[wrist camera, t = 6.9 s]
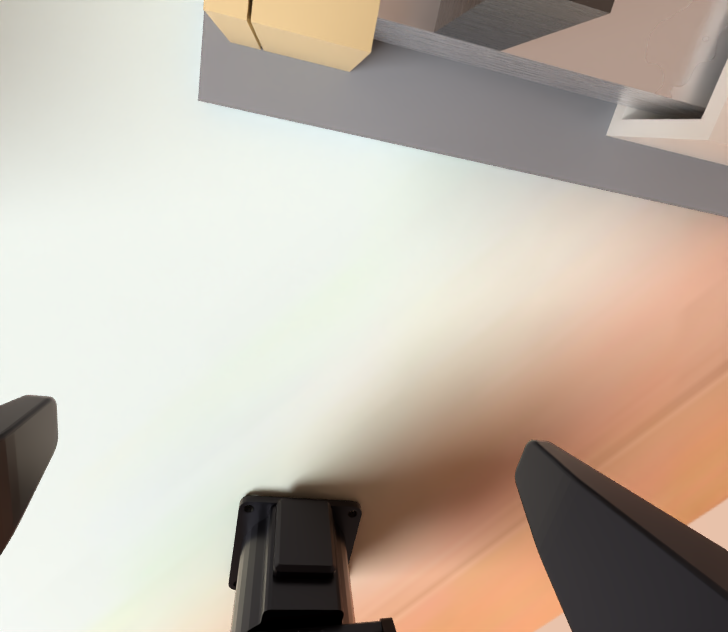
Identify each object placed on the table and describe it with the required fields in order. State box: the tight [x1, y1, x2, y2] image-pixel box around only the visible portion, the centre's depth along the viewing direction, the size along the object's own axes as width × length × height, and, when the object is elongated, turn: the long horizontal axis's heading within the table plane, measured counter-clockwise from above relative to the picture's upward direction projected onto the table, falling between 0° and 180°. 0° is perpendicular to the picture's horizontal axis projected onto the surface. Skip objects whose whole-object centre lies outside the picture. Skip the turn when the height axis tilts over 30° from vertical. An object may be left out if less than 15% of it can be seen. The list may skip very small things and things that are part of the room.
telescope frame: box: [198, 0, 728, 217], centre depth 15 cm, size 9×29×6 cm, turn 78°
